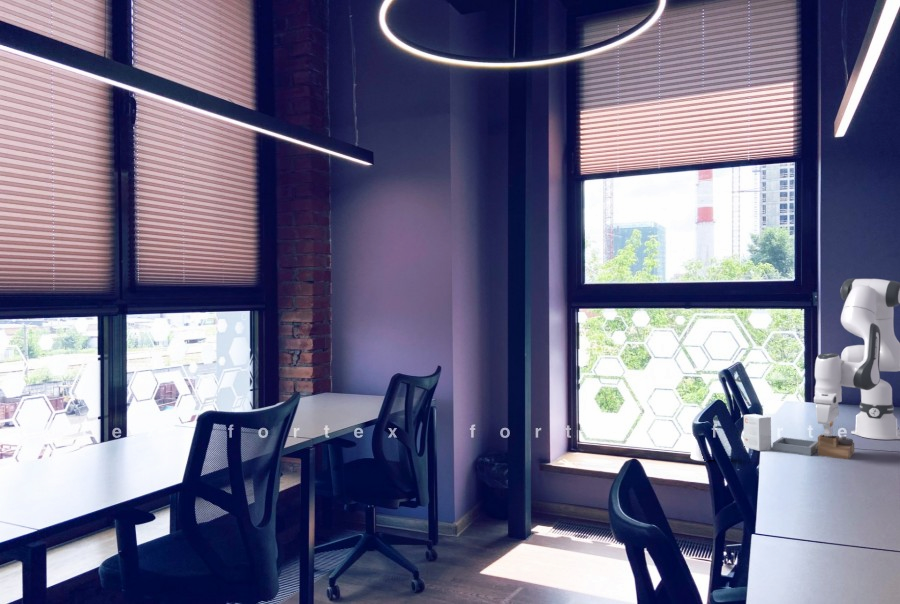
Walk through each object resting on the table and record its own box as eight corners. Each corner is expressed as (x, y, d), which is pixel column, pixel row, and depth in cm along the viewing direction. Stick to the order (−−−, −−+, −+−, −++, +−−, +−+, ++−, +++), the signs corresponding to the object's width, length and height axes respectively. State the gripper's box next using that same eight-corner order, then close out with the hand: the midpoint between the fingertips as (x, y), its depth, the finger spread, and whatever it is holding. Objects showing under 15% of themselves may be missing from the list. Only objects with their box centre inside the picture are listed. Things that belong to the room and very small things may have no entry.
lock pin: (825, 443, 249) (824, 419, 249) (833, 444, 247) (833, 420, 247) (823, 444, 247) (823, 421, 247) (831, 445, 245) (831, 421, 245)
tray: (782, 444, 265) (782, 437, 265) (818, 449, 256) (818, 441, 256) (773, 450, 255) (772, 442, 255) (810, 455, 246) (810, 447, 246)
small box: (771, 449, 256) (771, 417, 256) (759, 451, 254) (758, 418, 254) (755, 445, 264) (755, 413, 264) (743, 447, 262) (743, 414, 262)
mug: (709, 464, 236) (709, 431, 236) (685, 461, 241) (685, 429, 240) (717, 457, 245) (716, 426, 245) (693, 454, 250) (693, 423, 250)
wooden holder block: (824, 449, 256) (824, 431, 256) (854, 453, 249) (854, 435, 249) (817, 455, 247) (817, 437, 247) (848, 459, 240) (848, 440, 240)
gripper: (824, 392, 257) (825, 427, 257) (812, 398, 241) (812, 435, 242) (843, 393, 253) (843, 429, 253) (832, 400, 237) (832, 438, 237)
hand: (828, 432), depth 247 cm, fingers closed on lock pin, 3 cm apart
